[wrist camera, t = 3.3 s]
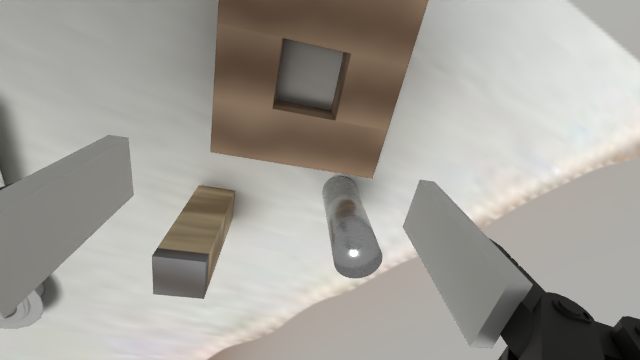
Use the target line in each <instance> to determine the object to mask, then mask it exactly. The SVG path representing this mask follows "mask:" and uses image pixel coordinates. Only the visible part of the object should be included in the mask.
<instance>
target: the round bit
mask: <svg viewBox="0 0 640 360" xmlns="http://www.w3.org/2000/svg"><path fill="white" fill-rule="evenodd" d="M323 199H324V205H325V211H326V217H327V223H328V229H329V235H330V241H331V247H332V254H333V260H334V265H335V268H336V270H337V271H338V272H339V273H340V274H341V275H343V276H345V277H349V278H362V277H366V276H368V275H370V274H372V273H373V272H375V271H376V270H377V269H378V267H379V266H380V264H381V262H382V252H381V250H380V247H379V245H378V242H377V240H376V237H375V235H374V232H373V230H372V227H371V224H370V222H369V219H368V217H367V214H366V212H365V209H364V207H363V204H362V202H361V199H360V196H359V194H358V191H357V189H356V186H355V184H354V182H353V181H352V180H351V179H349V178H347V177H344V176H336V177H333V178H331V179H329V180H328V181H327V182H326V183H325V185H324V187H323Z"/></svg>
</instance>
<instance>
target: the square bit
mask: <svg viewBox="0 0 640 360" xmlns="http://www.w3.org/2000/svg"><path fill="white" fill-rule="evenodd" d="M234 195H235V191H233V190H226V189H219V188H212V187H205V186H198V188H197V189H196V191H195V192H194V194H193V195H192V197H191V198H190V200H189V201H188V203H187V204H186V206H185V207H184V209H183V210H182V212H181V213H180V215H179V216H178V218H177V219H176V221H175V222H174V224H173V225H172V227H171V228H170V230H169V231H168V233H167V234H166V236H165V237H164V239H163V240H162V242H161V243H160V245H159V246H158V248H157V249H156V251H155V252H154V254H153V255H152V270H153V294H158V295H169V296H180V297H191V298H202V299H204V297H205V294H206V291H207V288H208V286H209V283H210V280H211V277H212V274H213V272H214V269H215V266H216V263H217V260H218V258H219V255H220V252H221V249H222V247H223V244H224V241H225V238H226V235H227V233H228V230H229V227H230V224H231V221H232V216H233V206H234Z"/></svg>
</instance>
